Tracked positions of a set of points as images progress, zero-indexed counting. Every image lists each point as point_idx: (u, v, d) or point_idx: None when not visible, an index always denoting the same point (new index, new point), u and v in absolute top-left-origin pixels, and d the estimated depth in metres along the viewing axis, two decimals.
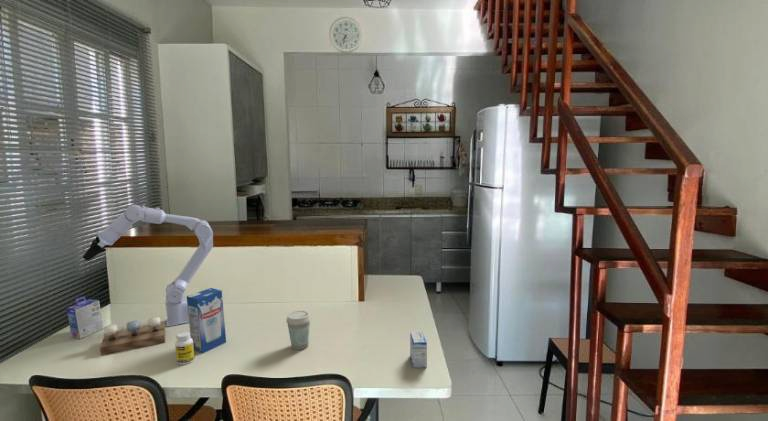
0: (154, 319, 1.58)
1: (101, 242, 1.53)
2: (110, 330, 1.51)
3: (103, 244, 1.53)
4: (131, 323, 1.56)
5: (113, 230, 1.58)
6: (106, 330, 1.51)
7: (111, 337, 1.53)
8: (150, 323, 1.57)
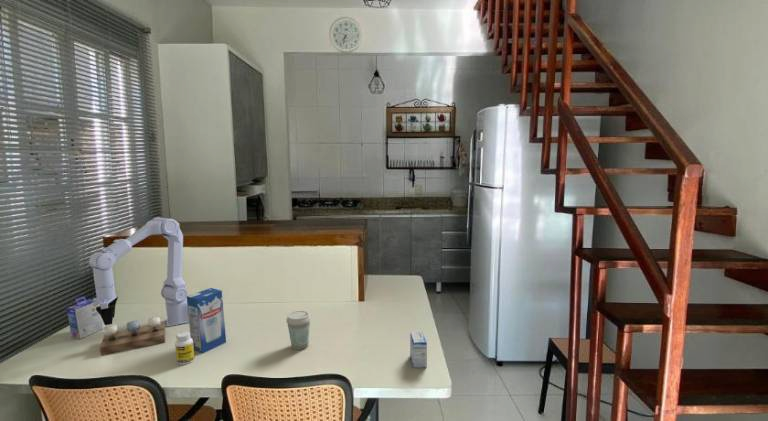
0: (154, 319, 1.58)
1: (102, 305, 1.44)
2: (110, 330, 1.51)
3: (105, 305, 1.45)
4: (131, 323, 1.56)
5: (101, 288, 1.48)
6: (106, 330, 1.51)
7: (111, 337, 1.53)
8: (150, 323, 1.57)
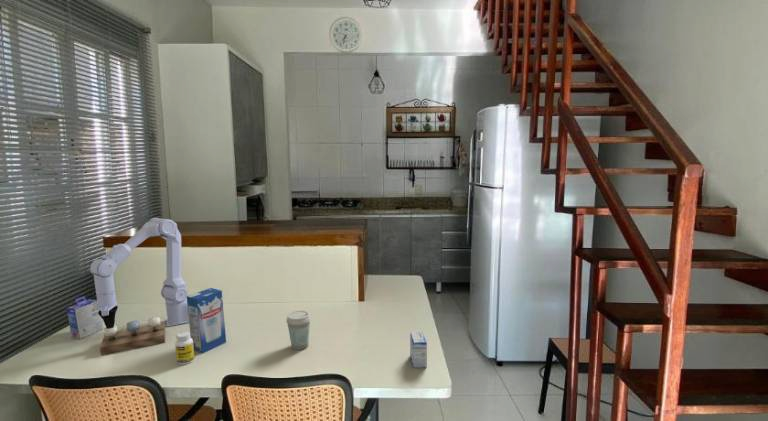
0: (154, 319, 1.58)
1: (103, 312, 1.45)
2: (111, 331, 1.51)
3: (106, 312, 1.45)
4: (131, 323, 1.56)
5: (102, 294, 1.48)
6: (106, 331, 1.51)
7: (111, 338, 1.53)
8: (150, 323, 1.57)
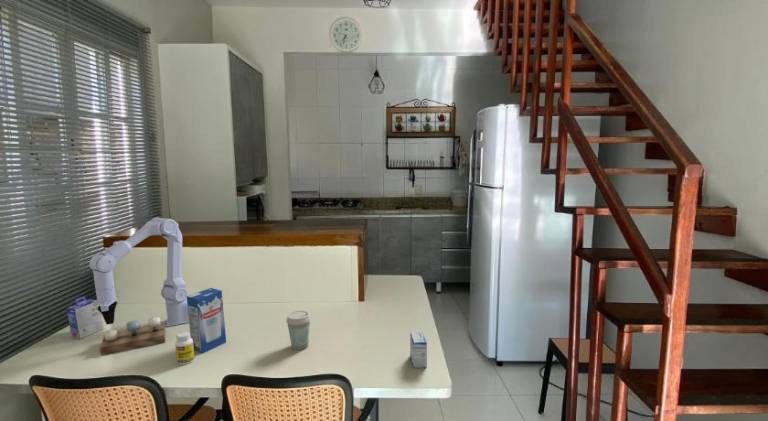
0: (154, 319, 1.58)
1: (102, 307, 1.45)
2: (111, 335, 1.52)
3: (105, 307, 1.45)
4: (131, 323, 1.56)
5: (102, 290, 1.48)
6: (107, 335, 1.51)
7: None
8: (150, 323, 1.57)
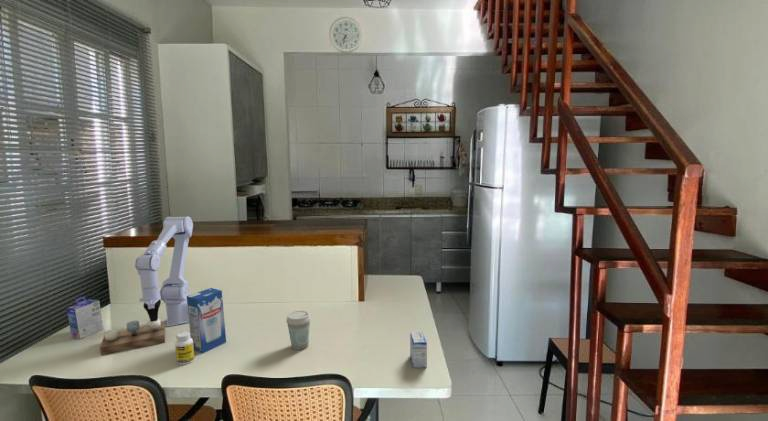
0: (154, 321, 1.59)
1: (149, 305, 1.51)
2: (111, 335, 1.52)
3: (152, 305, 1.52)
4: (131, 323, 1.56)
5: (148, 288, 1.54)
6: (107, 335, 1.51)
7: None
8: (150, 325, 1.57)
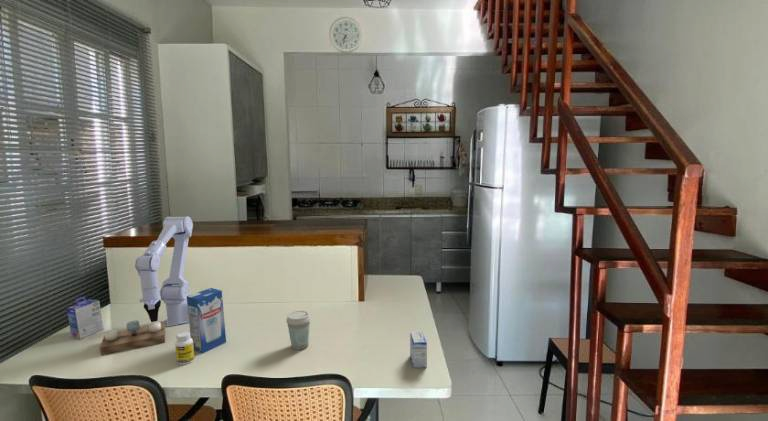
0: (155, 324, 1.59)
1: (149, 306, 1.51)
2: (111, 335, 1.52)
3: (152, 305, 1.52)
4: (131, 323, 1.56)
5: (148, 289, 1.54)
6: (107, 335, 1.51)
7: None
8: (151, 328, 1.58)
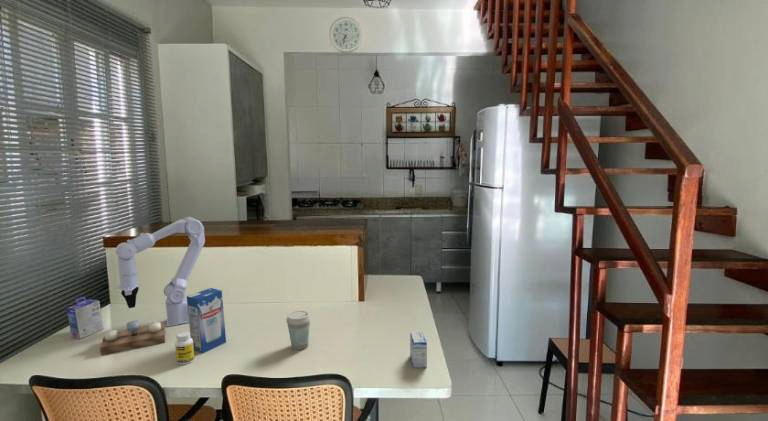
0: (155, 324, 1.59)
1: (126, 291, 1.56)
2: (111, 335, 1.52)
3: (129, 291, 1.57)
4: (131, 323, 1.56)
5: (125, 276, 1.59)
6: (107, 335, 1.51)
7: None
8: (151, 328, 1.58)
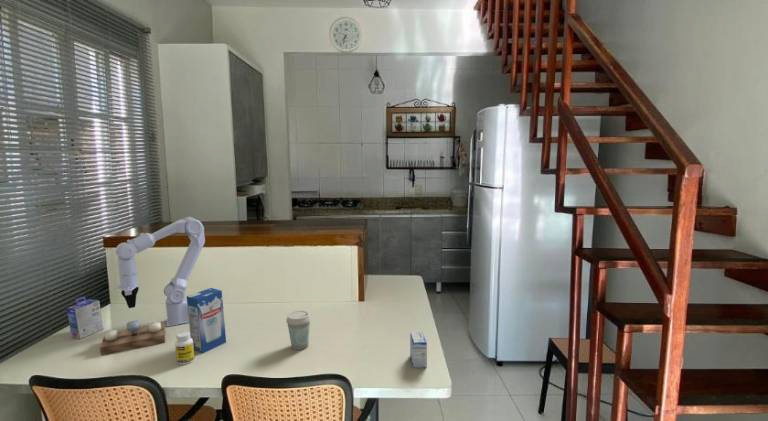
0: (155, 324, 1.59)
1: (126, 291, 1.56)
2: (111, 335, 1.52)
3: (129, 291, 1.57)
4: (131, 323, 1.56)
5: (125, 276, 1.59)
6: (107, 335, 1.51)
7: None
8: (151, 328, 1.58)
